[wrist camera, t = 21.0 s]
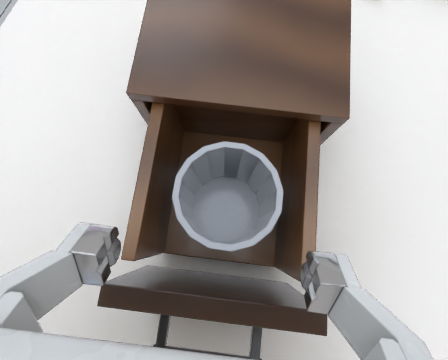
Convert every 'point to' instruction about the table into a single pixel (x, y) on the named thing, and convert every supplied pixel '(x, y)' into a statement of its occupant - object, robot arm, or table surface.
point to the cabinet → (246, 58)
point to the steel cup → (227, 196)
